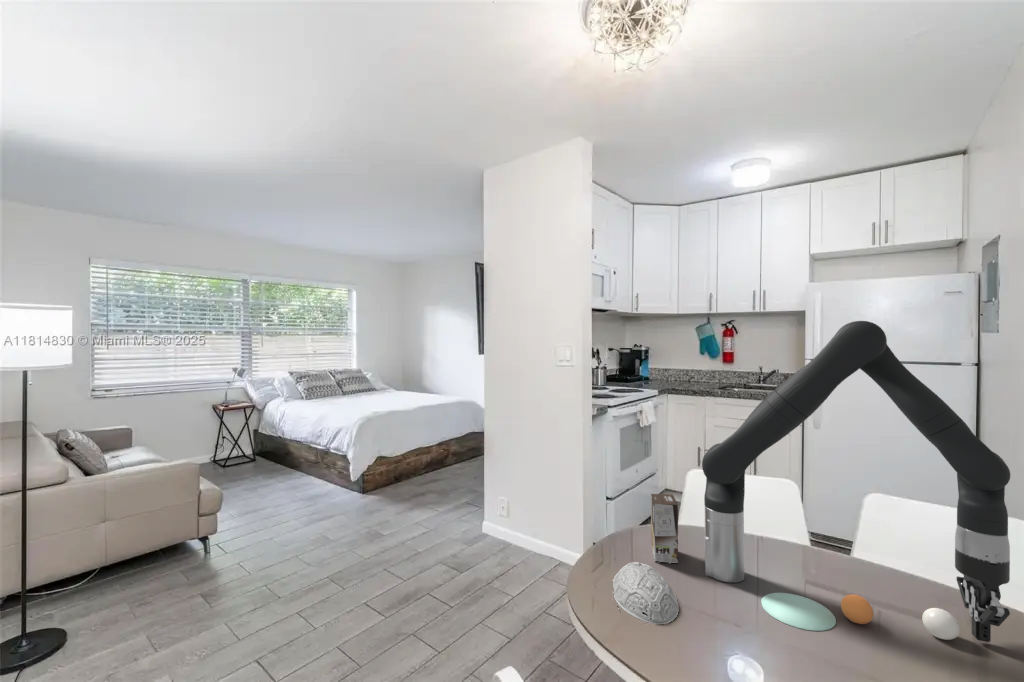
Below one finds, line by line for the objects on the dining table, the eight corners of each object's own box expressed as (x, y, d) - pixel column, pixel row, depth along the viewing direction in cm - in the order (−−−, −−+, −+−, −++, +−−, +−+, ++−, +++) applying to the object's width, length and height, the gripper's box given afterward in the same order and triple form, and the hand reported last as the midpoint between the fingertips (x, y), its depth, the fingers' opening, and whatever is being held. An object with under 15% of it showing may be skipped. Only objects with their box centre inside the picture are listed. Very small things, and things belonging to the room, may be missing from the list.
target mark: (766, 622, 97) (766, 621, 97) (757, 588, 110) (757, 588, 110) (844, 637, 92) (844, 636, 92) (825, 600, 105) (825, 599, 105)
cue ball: (930, 642, 90) (929, 614, 90) (917, 626, 95) (917, 599, 95) (966, 649, 88) (965, 620, 88) (951, 632, 93) (950, 605, 93)
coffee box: (679, 564, 122) (678, 504, 122) (654, 562, 124) (653, 503, 124) (674, 549, 131) (673, 493, 131) (650, 547, 133) (650, 492, 133)
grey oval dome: (619, 625, 96) (622, 593, 96) (603, 572, 121) (605, 546, 121) (694, 635, 95) (696, 602, 95) (661, 579, 120) (664, 554, 120)
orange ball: (845, 626, 95) (845, 600, 95) (837, 612, 100) (837, 587, 100) (877, 632, 93) (877, 605, 93) (868, 617, 98) (867, 592, 98)
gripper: (940, 535, 97) (939, 615, 97) (976, 563, 85) (975, 655, 85) (986, 540, 94) (985, 623, 94) (1030, 571, 82) (1029, 666, 82)
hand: (981, 638), depth 90 cm, fingers closed
